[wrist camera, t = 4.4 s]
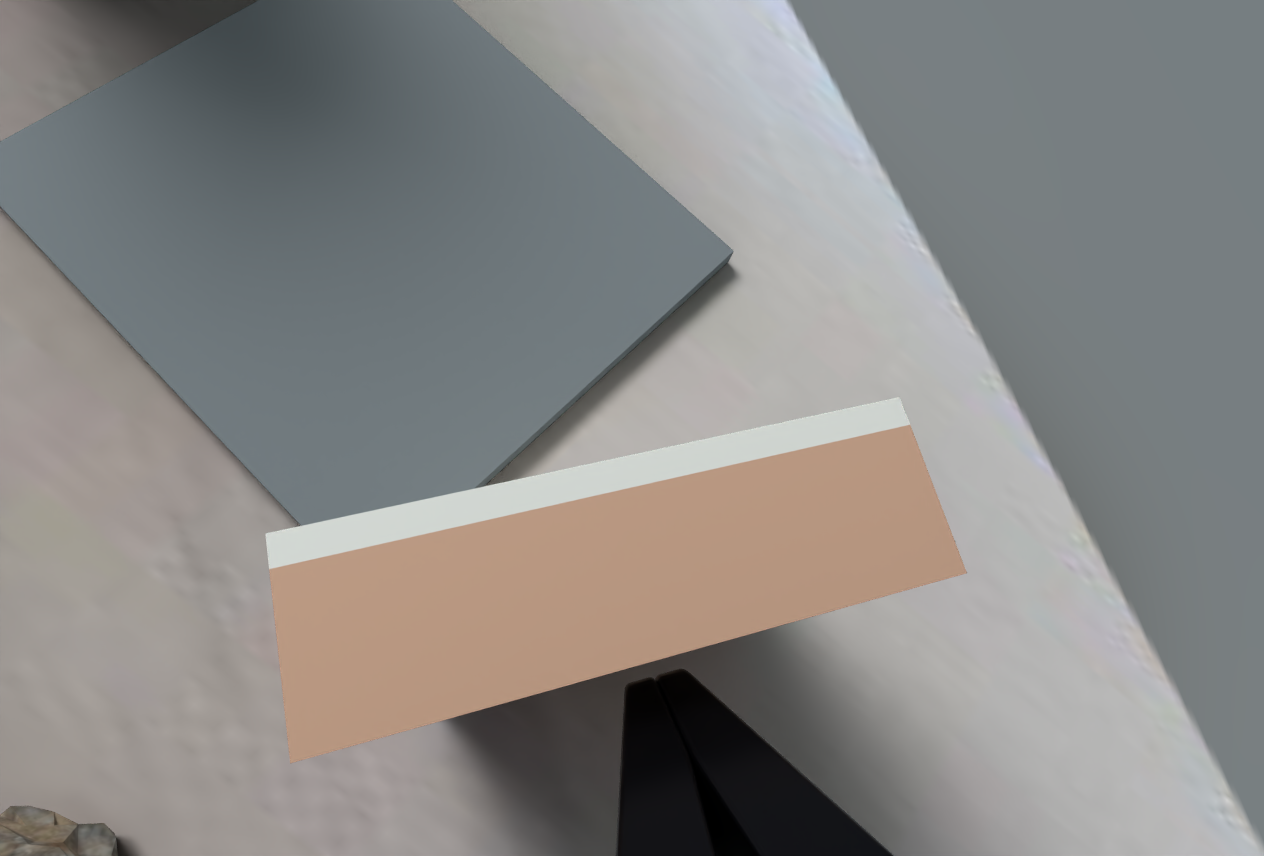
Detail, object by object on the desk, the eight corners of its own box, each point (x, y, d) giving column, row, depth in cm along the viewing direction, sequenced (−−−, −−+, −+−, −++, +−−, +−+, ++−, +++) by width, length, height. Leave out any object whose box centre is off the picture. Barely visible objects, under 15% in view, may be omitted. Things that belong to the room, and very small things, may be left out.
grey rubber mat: (728, 261, 21) (733, 250, 21) (368, 592, 17) (362, 590, 16) (382, -48, 23) (378, -66, 22) (-23, 178, 19) (-41, 163, 18)
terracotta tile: (739, 610, 18) (966, 573, 8) (431, 694, 16) (289, 763, 7) (714, 522, 19) (899, 396, 9) (415, 595, 17) (265, 533, 8)
